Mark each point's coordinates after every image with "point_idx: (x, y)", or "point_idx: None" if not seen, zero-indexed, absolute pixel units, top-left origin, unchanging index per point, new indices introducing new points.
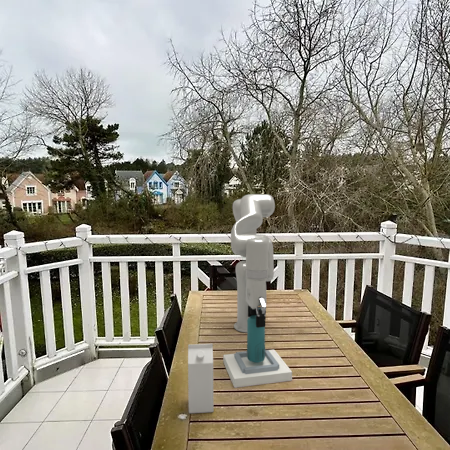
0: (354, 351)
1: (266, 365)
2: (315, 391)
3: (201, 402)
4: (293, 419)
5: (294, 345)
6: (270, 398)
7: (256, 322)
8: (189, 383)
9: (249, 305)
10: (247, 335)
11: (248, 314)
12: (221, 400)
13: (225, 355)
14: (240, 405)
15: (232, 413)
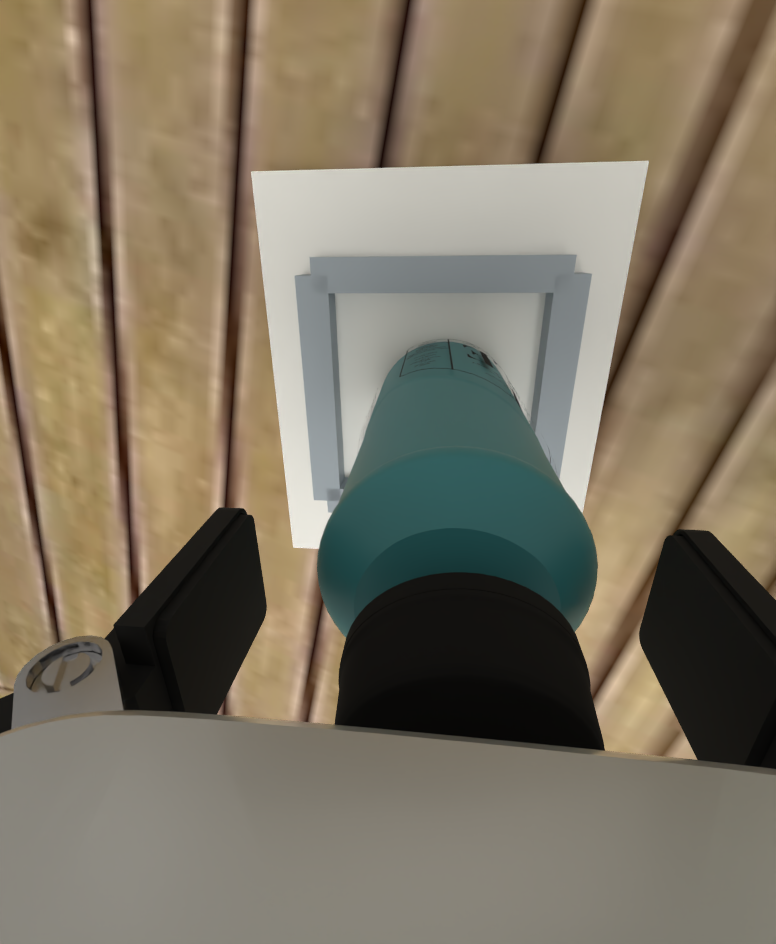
0: None
1: (332, 438)
2: None
3: None
4: (13, 409)
5: (645, 672)
6: (161, 366)
7: (186, 547)
8: None
9: (347, 743)
10: (461, 387)
11: (696, 551)
12: (139, 46)
13: (628, 179)
14: (94, 174)
15: (18, 100)
